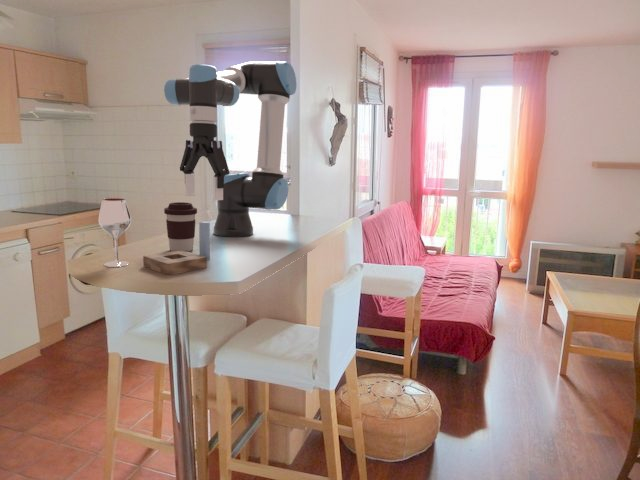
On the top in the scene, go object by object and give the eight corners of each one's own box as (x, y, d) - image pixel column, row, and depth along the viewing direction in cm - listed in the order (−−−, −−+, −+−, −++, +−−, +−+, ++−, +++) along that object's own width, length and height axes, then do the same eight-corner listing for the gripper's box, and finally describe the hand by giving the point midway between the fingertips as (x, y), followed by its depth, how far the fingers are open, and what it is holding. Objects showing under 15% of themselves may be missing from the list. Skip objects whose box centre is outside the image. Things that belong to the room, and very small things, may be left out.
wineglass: (106, 260, 137) (103, 197, 133) (136, 261, 137) (134, 198, 134) (96, 267, 129) (92, 200, 125) (127, 268, 129) (125, 201, 126)
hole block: (181, 260, 141) (181, 250, 140) (206, 267, 133) (206, 257, 132) (143, 266, 132) (143, 256, 131) (168, 275, 124) (167, 263, 123)
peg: (205, 257, 145) (205, 221, 143) (212, 259, 143) (211, 222, 141) (197, 258, 143) (197, 222, 141) (203, 260, 141) (203, 223, 139)
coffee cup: (188, 254, 149) (187, 206, 146) (159, 251, 150) (158, 204, 148) (202, 248, 158) (202, 202, 155) (174, 246, 160) (173, 201, 157)
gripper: (166, 122, 141) (168, 194, 145) (220, 121, 125) (220, 202, 129) (188, 124, 147) (189, 193, 150) (242, 123, 131) (241, 201, 135)
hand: (203, 198), depth 140 cm, fingers open, 13 cm apart
